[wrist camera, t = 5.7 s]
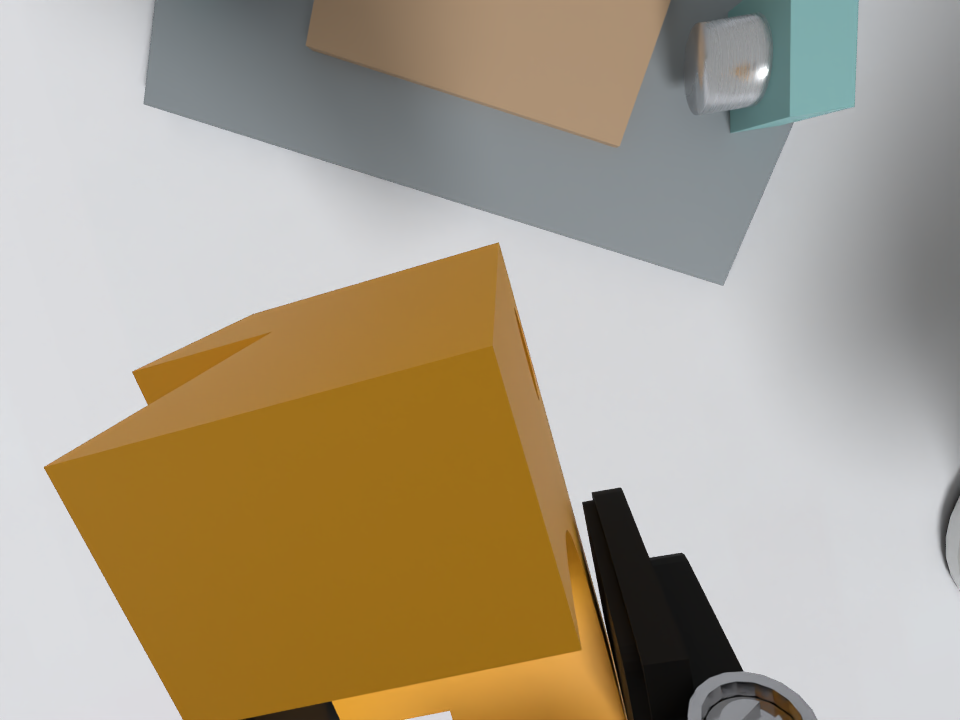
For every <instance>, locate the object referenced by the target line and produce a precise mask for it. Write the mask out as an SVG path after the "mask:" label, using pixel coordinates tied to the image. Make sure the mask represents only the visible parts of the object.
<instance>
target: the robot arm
mask: <svg viewBox="0 0 960 720" xmlns="http://www.w3.org/2000/svg"><path fill="white" fill-rule="evenodd" d="M592 498H593V500H592V501H586V502H582V504H583V510H584V515H585V520H586V525H587V531H588V536H589V541H590V546H591V552H592V557H593V562H594V567H595V572H596V578H597V583H598V588H599V593H600V599H601V604H602V609H603V614H604V620H605V625H606V629H607V634H608V639H609V643H610V647H611V652H612V656H613V660H614V664H615V669H616V673H617V677H618V682H619V686H620V690H621V694H622V699H623V703H624V707H625V712H626V716H627V720H817V718H816V716H815V714H814V712H813V710H812V709H811V708H810V707H809V706H808V704H807V703H806V702H805V701H804V700H803V699H802V698H801V697H800V695H798V694H797V693H796V692H794V691H793V690H791V689H790V688H788V687H787V686H786V685H784V684H783V683H781V682H779V681H776V680H774V679H771V678H769V677H766V676H764V675H760V674H755V673H749V672H744V671H743V669H742V667H741V665H740V663H739V661H738V659H737V657H736V655H735V653H734V651H733V649H732V647H731V645H730V643H729V641H728V639H727V637H726V635H725V633H724V631H723V629H722V627H721V625H720V623H719V621H718V619H717V617H716V615H715V613H714V611H713V609H712V607H711V605H710V603H709V601H708V599H707V597H706V595H705V593H704V591H703V589H702V587H701V585H700V583H699V581H698V579H697V577H696V575H695V574H694V572H693V570H692V568H691V566H690V564H689V562H688V560H687V558H686V556H685V555H684V554H683V553H677V554H671V555H665V556H658V557H652V558H649V556H648V553H647V551H646V548H645V546H644V543H643V541H642V538H641V536H640V533H639V531H638V528H637V526H636V523H635V521H634V518H633V516H632V513H631V511H630V508H629V506H628V503H627V501H626V498H625V496H624V493H623V491H622V488H615V489H609V490H603V491H598V492H592ZM946 559H947V563H948V566H949V570H950V574H951V576H952V578H953V580H954V582H955V584H956V585H957V587H958V589H959V591H960V497H959V499H958V501H957V503H956V505H955V508H954V510H953V512H952V514H951V517H950V521H949V525H948V530H947V534H946ZM241 720H340V719H339V716H338V714H337V712H336V710H335V708H334V705H333V703H332V701H330V702H325V703H320V704H315V705H310V706H305V707H300V708H295V709H290V710H286V711H281V712H276V713H271V714H266V715H261V716H256V717H251V718H246V719H241Z"/></svg>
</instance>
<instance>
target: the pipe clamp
mask: <svg viewBox="0 0 960 720" xmlns="http://www.w3.org/2000/svg"><path fill="white" fill-rule="evenodd" d="M132 373H133V375H134V377H135V379H136V381H137V383H138V385H139V387H140V389H141V391H142V394H143V396H144V398H145V400H146V402H147V404H148V406H146V407H144V408H143V409H141V410H139V411H138V412H136V413H134V414H133V415H131V416H129V417H128V418H126V419H124V420H123V421H121V422H119V423H117V424H116V425H114V426H112V427H111V428H109V429H107V430H106V431H104V432H102V433H101V434H99V435H97V436H96V437H94V438H92V439H90V440H89V441H87V442H85V443H84V444H82V445H80V446H79V447H77V448H75V449H74V450H72V451H70V452H69V453H67V454H65V455H63V456H62V457H60V458H58V459H57V460H55V461H53V462H52V463H50V464H48V465H47V466H45V467H44V469H45V471H46V472H47V474H48V476H49V478H50V480H51V481H52V483H53V485H54V487H55V489H56V490H57V492H58V494H59V496H60V498H61V499H62V501H63V503H64V505H65V507H66V509H67V510H68V512H69V514H70V516H71V518H72V519H73V521H74V523H75V525H76V527H77V528H78V530H79V532H80V534H81V536H82V538H83V539H84V541H85V543H86V545H87V547H88V548H89V550H90V552H91V554H92V556H93V557H94V559H95V561H96V563H97V565H98V566H99V568H100V570H101V572H102V574H103V576H104V577H105V579H106V581H107V583H108V585H109V586H110V588H111V590H112V592H113V594H114V595H115V597H116V599H117V601H118V603H119V605H120V606H121V608H122V610H123V612H124V614H125V615H126V617H127V619H128V621H129V623H130V624H131V626H132V628H133V630H134V632H135V633H136V635H137V637H138V639H139V641H140V643H141V644H142V646H143V648H144V650H145V652H146V653H147V655H148V657H149V659H150V661H151V662H152V664H153V666H154V668H155V670H156V672H157V673H158V675H159V677H160V679H161V681H162V682H163V684H164V686H165V688H166V690H167V691H168V693H169V695H170V697H171V699H172V700H173V702H174V704H175V706H176V708H177V710H178V711H179V713H180V715H181V717H182V719H183V720H241V719H246V718H251V717H256V716H261V715H266V714H271V713H276V712H281V711H286V710H290V709H295V708H300V707H305V706H310V705H315V704H320V703H325V702H330V701H332V703H333V705H334V708H335V710H336V712H337V714H338V716H339V719H340V720H404V719H409V718H414V717H419V716H425V715H430V714H435V713H440V712H445V711H450V712H451V715H452V719H453V720H627V716H626V712H625V707H624V703H623V699H622V694H621V690H620V686H619V682H618V677H617V673H616V669H615V664H614V660H613V656H612V652H611V647H610V644H609V640H608V637H607V633H606V629H605V626H604V622H603V618H602V615H601V611H600V608H599V604H598V600H597V597H596V593H595V589H594V586H593V582H592V579H591V575H590V571H589V568H588V564H587V560H586V557H585V553H584V550H583V546H582V542H581V539H580V535H579V531H578V528H577V524H576V521H575V517H574V513H573V510H572V506H571V502H570V499H569V495H568V491H567V488H566V484H565V481H564V477H563V473H562V470H561V466H560V462H559V459H558V455H557V452H556V448H555V444H554V441H553V437H552V433H551V430H550V426H549V423H548V419H547V415H546V412H545V408H544V404H543V401H542V397H541V394H540V390H539V386H538V383H537V379H536V375H535V372H534V368H533V365H532V361H531V357H530V354H529V350H528V346H527V343H526V339H525V336H524V332H523V328H522V325H521V321H520V317H519V314H518V310H517V307H516V303H515V299H514V296H513V292H512V288H511V285H510V281H509V278H508V274H507V270H506V267H505V263H504V259H503V256H502V252H501V249H500V245H499V243H495V244H492V245H488V246H485V247H481V248H478V249H475V250H471V251H468V252H464V253H461V254H458V255H454V256H451V257H447V258H444V259H440V260H437V261H434V262H430V263H427V264H423V265H420V266H416V267H413V268H410V269H406V270H403V271H399V272H396V273H392V274H389V275H386V276H382V277H379V278H375V279H372V280H369V281H365V282H362V283H358V284H355V285H351V286H348V287H345V288H341V289H338V290H334V291H331V292H327V293H324V294H321V295H317V296H314V297H310V298H307V299H303V300H300V301H297V302H293V303H290V304H286V305H283V306H279V307H276V308H273V309H269V310H266V311H262V312H259V313H256V314H252V315H250V316H248V317H246V318H244V319H242V320H240V321H238V322H236V323H233V324H231V325H229V326H227V327H225V328H223V329H221V330H219V331H217V332H215V333H212V334H210V335H208V336H206V337H204V338H202V339H200V340H198V341H196V342H194V343H191V344H189V345H187V346H185V347H183V348H181V349H179V350H177V351H175V352H173V353H170V354H168V355H166V356H164V357H162V358H160V359H158V360H156V361H154V362H152V363H149V364H147V365H145V366H143V367H141V368H139V369H137V370H135V371H133V372H132Z"/></svg>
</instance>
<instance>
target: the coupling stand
mask: <svg viewBox="0 0 960 720" xmlns="http://www.w3.org/2000/svg"><path fill="white" fill-rule="evenodd" d="M858 2H859V0H155V7H154V16H153V25H152V34H151V43H150V51H149V60H148V69H147V78H146V87H145V96H144V104H145V105H148V106H151V107H154V108H158V109H161V110H164V111H167V112H170V113H174V114H177V115H180V116H183V117H186V118H190V119H193V120H196V121H199V122H202V123H205V124H209V125H212V126H215V127H218V128H221V129H225V130H228V131H231V132H234V133H237V134H241V135H244V136H247V137H250V138H253V139H257V140H260V141H263V142H266V143H269V144H272V145H276V146H279V147H282V148H285V149H288V150H292V151H295V152H298V153H301V154H304V155H308V156H311V157H314V158H317V159H320V160H323V161H327V162H330V163H333V164H336V165H339V166H343V167H346V168H349V169H352V170H355V171H359V172H362V173H365V174H368V175H371V176H375V177H378V178H381V179H384V180H387V181H390V182H394V183H397V184H400V185H403V186H406V187H410V188H413V189H416V190H419V191H422V192H426V193H429V194H432V195H435V196H438V197H442V198H445V199H448V200H451V201H454V202H457V203H461V204H464V205H467V206H470V207H473V208H477V209H480V210H483V211H486V212H489V213H493V214H496V215H499V216H502V217H505V218H509V219H512V220H515V221H518V222H521V223H524V224H528V225H531V226H534V227H537V228H540V229H544V230H547V231H550V232H553V233H556V234H560V235H563V236H566V237H569V238H572V239H576V240H579V241H582V242H585V243H588V244H591V245H595V246H598V247H601V248H604V249H607V250H611V251H614V252H617V253H620V254H623V255H627V256H630V257H633V258H636V259H639V260H643V261H646V262H649V263H652V264H655V265H658V266H662V267H665V268H668V269H671V270H674V271H678V272H681V273H684V274H687V275H690V276H694V277H697V278H700V279H703V280H706V281H709V282H713V283H716V284H719V285H722V286H723V285H724V283H725V280H726V278H727V276H728V273H729V271H730V269H731V266H732V264H733V262H734V260H735V257H736V255H737V253H738V250H739V248H740V246H741V243H742V241H743V239H744V236H745V234H746V232H747V229H748V227H749V225H750V223H751V220H752V218H753V216H754V213H755V211H756V209H757V206H758V204H759V202H760V199H761V197H762V195H763V192H764V190H765V188H766V186H767V183H768V181H769V179H770V176H771V174H772V172H773V169H774V167H775V165H776V162H777V160H778V158H779V155H780V153H781V151H782V148H783V146H784V144H785V142H786V139H787V137H788V135H789V132H790V130H791V128H792V125H793V123H794V122H796V121H800V120H804V119H808V118H812V117H816V116H820V115H824V114H828V113H832V112H836V111H840V110H844V109H847V108H851V107H855V81H856V54H857V28H858ZM753 13H762V14H763V15H764V16H765V17H766V19H767V21H768V23H769V26H770V29H771V34H772V42H773V60H772V69H771V75H770V79H769V83H768V87H767V89H766V92H765V94H764V96H763V98H762V99H761V101H760V102H759V103H758V104H757V105H756V106H753V107H747V108H740V109H734V110H728V111H721V112H715V113H709V114H702V115H694V114H693V113H692V112H691V110H690V108H689V106H688V103H687V99H686V94H685V85H684V60H685V51H686V46H687V41H688V37H689V34H690V32H691V30H692V28H693V26H694V25H695V24H696V23H700V22H706V21H712V20H718V19H724V18H729V17H735V16H741V15H747V14H753Z"/></svg>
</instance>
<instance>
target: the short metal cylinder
mask: <svg viewBox="0 0 960 720" xmlns="http://www.w3.org/2000/svg"><path fill="white" fill-rule="evenodd" d="M772 60H773V42H772V34H771V29H770V26H769V23H768V21H767V19H766V17H765V16H764V15H763V14H762V13H753V14H747V15H741V16H735V17H729V18H724V19H718V20H712V21H706V22H700V23H696V24H695V25H694V26H693V28H692V30H691V32H690V34H689V37H688V41H687V46H686V51H685V60H684V85H685V94H686V99H687V103H688V106H689V108H690V110H691V112H692V113H693V114H694V115H702V114H709V113H715V112H721V111H728V110H734V109H740V108H747V107H753V106H756V105H757V104H758V103H759V102H760V101H761V99H762V98H763V96H764V94H765V92H766V89H767V87H768V83H769V79H770V75H771V69H772Z"/></svg>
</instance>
